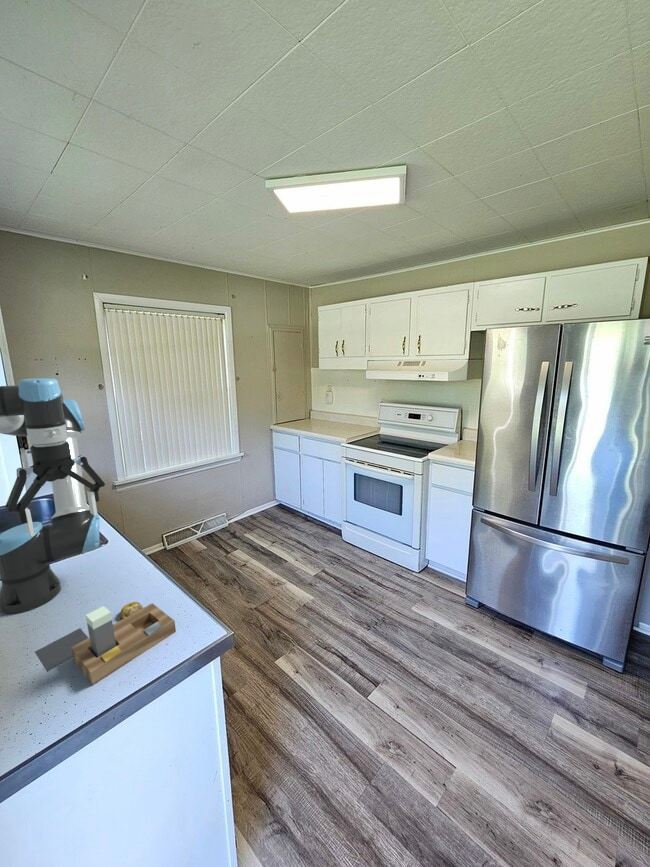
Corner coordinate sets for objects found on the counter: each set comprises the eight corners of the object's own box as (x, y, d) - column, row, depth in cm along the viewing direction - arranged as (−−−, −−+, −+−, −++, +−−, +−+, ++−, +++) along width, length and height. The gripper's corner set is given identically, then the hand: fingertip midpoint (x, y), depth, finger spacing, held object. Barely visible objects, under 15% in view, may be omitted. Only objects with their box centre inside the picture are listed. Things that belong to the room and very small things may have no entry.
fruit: (124, 633, 96) (123, 621, 95) (112, 620, 101) (110, 608, 101) (155, 615, 103) (153, 604, 102) (141, 604, 108) (140, 593, 107)
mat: (35, 653, 89) (34, 651, 89) (80, 629, 97) (80, 628, 97) (47, 673, 83) (47, 671, 83) (94, 646, 91) (94, 644, 91)
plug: (93, 658, 86) (85, 615, 84) (110, 647, 90) (103, 605, 87) (99, 666, 84) (92, 622, 82) (117, 655, 87) (110, 612, 85)
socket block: (73, 661, 87) (71, 646, 86) (153, 615, 102) (152, 602, 101) (93, 687, 80) (90, 671, 79) (176, 633, 95) (174, 619, 94)
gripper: (-17, 457, 73) (4, 549, 78) (111, 435, 93) (122, 510, 98) (-25, 452, 78) (-5, 539, 83) (99, 431, 97) (110, 503, 102)
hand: (64, 523), depth 90 cm, fingers open, 13 cm apart
